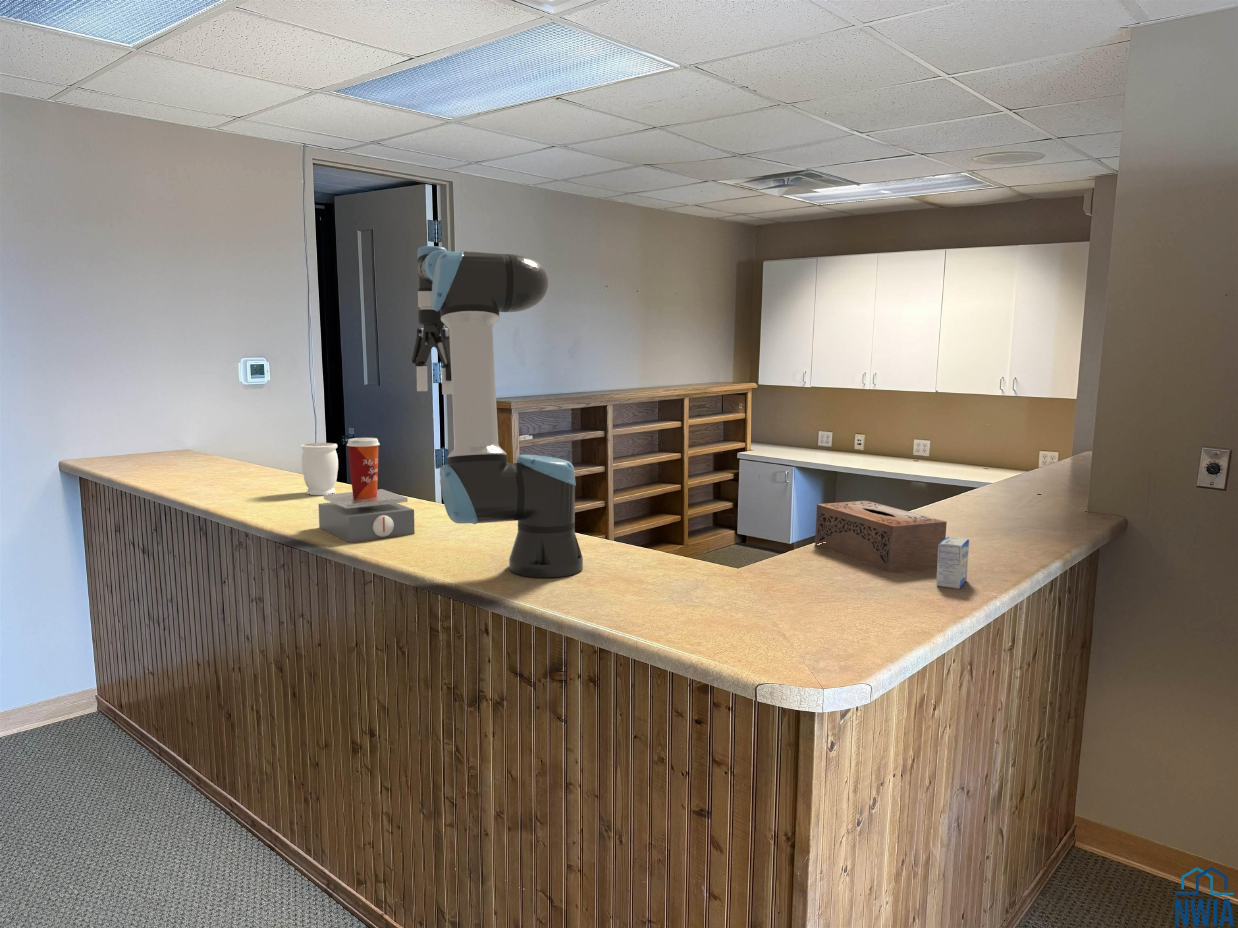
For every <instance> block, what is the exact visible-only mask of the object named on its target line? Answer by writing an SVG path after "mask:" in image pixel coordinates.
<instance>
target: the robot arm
mask: <svg viewBox="0 0 1238 928" xmlns="http://www.w3.org/2000/svg"><path fill="white" fill-rule="evenodd" d="M416 258H417V259H416V263H417V307H418V308H420V309H419V310H418V313H417V314H418V315H417V316H418V324H419V325H421V326H422V325H423V327H420V328H419V327H417V329H416V338H415V342H414V343H415V344H414V348H413V354H412V357H411V363H412V364H414V365H415V366H416V392H429V391H428V390H429V389H428V366H429V365H428V363H427V361H428V359H429V356H430V355H431V352H432V349H433V348H435V349H436V351H437V354H438V355H439V358H440V361H441V363H442V365H441V392H442V393H441V395H452V412H453V413H452V417H453V436H454V448H453V450H451V452H450V453H448V455H447V464H444V465H442V466H441V467H440V469H439V478H440V479H439V484H440V490H441V495H442V500H443V505H444V508H445V511H446V514H447V516H448V517H449V519H450V520H451V521H452V522H453V523H455V524H472V525H477V524H486V523H500V522H504V523H505V522H515V521H517V533H516V537H515V540H514V543H513V546H512V549H511V553H510V555H509V560H508V561H509V562H508V563H509V565H508V566H509V567H508V569H509V571H510V572H511V573H513V574H515V575H519V576H523V577H530V578H541V579H542V578H544V579H545V578H550V579H551V578H561V577H562V578H563V577H567V576H573V575H575V574H578V573H579V572H582V570H583V568H584V561H583V559H584V558H583V554H582V551H581V548H580V545H579V541H578V538H577V536H576V532H575V531H576V530H575V529H576V528H575V526H576V525H575V523H576V522H575V521H576V520H575V519H576V517H575V514H576V513H575V512H576V509H575V508H576V507H575V506H576V502H575V501H576V486H577V484H576V483H577V482H576V475H575V467H574V465H573V464H572V463H571V462H570V461H568V460H567V459H566V460H565V459H563V458H558V457H551V456H547V455H546V456H545V455H536V454H520V455H518V456H517V459H516V462H508V456H507V452H506V451H505V450H504V449H502V447H501V446H500V445H499V433H498V432H499V430H498V429H499V428H498V410H497V391H496V390H497V389H496V374H495V372H496V371H495V355H494V354H495V352H494V335H493V333H494V332H493V328H494V327H495V325H496V324H497V323H498V322H499V320H500V313H518V312H521V311H526V310H529V309H531V308H533V307H534V306H537V305H538V303H540V302H541V301H542V300H544V297H545V296H546V294H547V292H548V288H549V276H548V274H547V271H546V269H545V267H544V266H542V264H540V263H539V262H538V261H537V260H535V259H533V258H529V257H527V256H523V255H518V254H514V253H496V252H495V253H494V252H491V253H490V252H477V251H465V250H460V251H448V250H447V248H446V247H444V246H436V245H435V246H434V245H424V246H420V247H419V248H418V249H417V257H416ZM445 326H446V327H447V328H446V327H445Z"/></svg>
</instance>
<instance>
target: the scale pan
mask: <svg viewBox="0 0 1238 928" xmlns="http://www.w3.org/2000/svg"><path fill="white" fill-rule="evenodd" d="M323 500H325V501H327V502H329V503H330V502H332V503H335V504H337V505H339V506H342V507H344V508H346V509H348V508H357V507H369V506H375V505H384V504H393V503H398V504H400V503H401V504H402V503H407V502H408V501H409V500H408V497H406V496H403V495H401V494H397V493H396V492H395V493H394V492H392V491H389V490H386V489H383V488H379V489H378V488H377V496H376V497H372V498H354V497H353V492H352V491H350V492H341V493H340V492H339V493H333V494H328V495H323Z"/></svg>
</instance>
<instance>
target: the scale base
mask: <svg viewBox="0 0 1238 928" xmlns="http://www.w3.org/2000/svg"><path fill="white" fill-rule="evenodd" d="M318 525H319V526H318V527H319V528H320V529H322V530H323V531H326V532H327V533H329V534H332V535H334V536H336V537H337V538H340V540H343V541H346V542H348V543H350V544H351V543H356V542H357V543H358V542H364V541H365V542H366V541H372V540H380V539H387V538H394V537H402V536H408V535H416V534H415V533H416V532H415V509H414V508H411V507H408V506H405V505H402V504H400V503H393V504H384V505H375V506H369V507H357V508H348V509H346V508H344V507H342V506H339V505H337V504H335V503H332V502H330V501H329V502H323V503H318Z"/></svg>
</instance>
